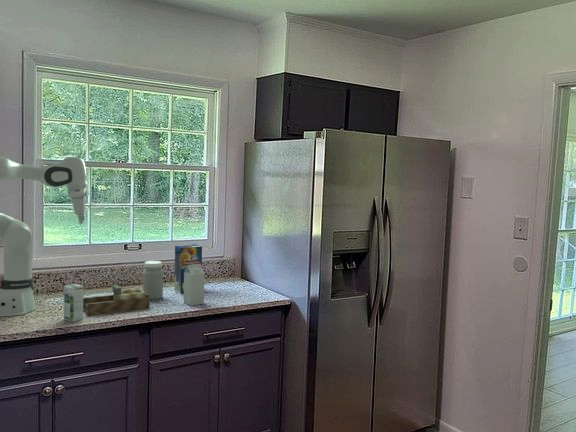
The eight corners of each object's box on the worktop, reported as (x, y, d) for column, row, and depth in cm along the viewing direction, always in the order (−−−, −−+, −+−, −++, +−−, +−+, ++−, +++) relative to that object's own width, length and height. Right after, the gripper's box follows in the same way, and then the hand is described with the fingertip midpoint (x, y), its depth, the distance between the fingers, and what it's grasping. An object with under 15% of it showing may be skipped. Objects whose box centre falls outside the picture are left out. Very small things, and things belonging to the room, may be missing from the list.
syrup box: (63, 319, 219) (63, 285, 217) (75, 316, 224) (75, 283, 222) (71, 322, 216) (71, 287, 214) (84, 319, 221) (83, 285, 219)
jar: (160, 300, 254) (160, 264, 252) (140, 300, 254) (140, 263, 252) (164, 295, 264) (165, 260, 262) (145, 295, 264) (145, 260, 262)
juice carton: (180, 294, 269) (181, 247, 267) (174, 291, 275) (174, 245, 272) (201, 291, 276) (202, 246, 274) (194, 288, 282) (195, 244, 280)
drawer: (117, 308, 234) (117, 288, 233) (112, 303, 241) (112, 284, 241) (145, 305, 241) (145, 286, 240) (139, 300, 248) (139, 282, 248)
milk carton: (183, 302, 252) (184, 263, 250) (196, 300, 257) (197, 262, 255) (190, 306, 247) (191, 266, 245) (203, 303, 251) (204, 264, 250)
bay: (88, 315, 226) (88, 301, 225) (81, 308, 236) (81, 295, 235) (149, 308, 241) (149, 295, 240) (141, 302, 251) (141, 289, 250)
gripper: (72, 191, 247) (76, 219, 249) (69, 194, 228) (73, 225, 230) (86, 189, 249) (90, 218, 251) (84, 193, 230) (88, 224, 232)
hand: (81, 222), depth 240 cm, fingers open, 8 cm apart
